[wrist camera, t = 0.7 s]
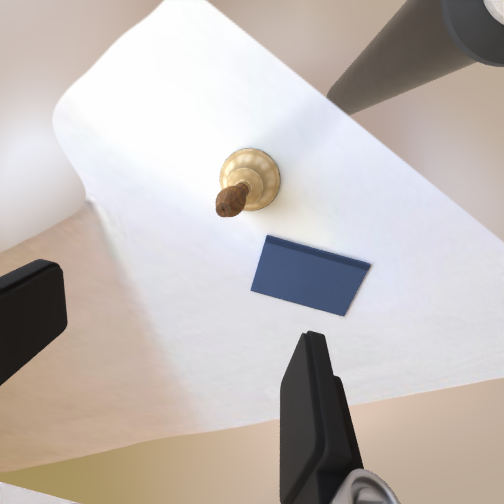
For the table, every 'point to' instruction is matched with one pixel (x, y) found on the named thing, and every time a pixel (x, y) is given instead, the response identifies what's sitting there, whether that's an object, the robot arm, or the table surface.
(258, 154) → the hand bell
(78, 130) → the table surface
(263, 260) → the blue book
